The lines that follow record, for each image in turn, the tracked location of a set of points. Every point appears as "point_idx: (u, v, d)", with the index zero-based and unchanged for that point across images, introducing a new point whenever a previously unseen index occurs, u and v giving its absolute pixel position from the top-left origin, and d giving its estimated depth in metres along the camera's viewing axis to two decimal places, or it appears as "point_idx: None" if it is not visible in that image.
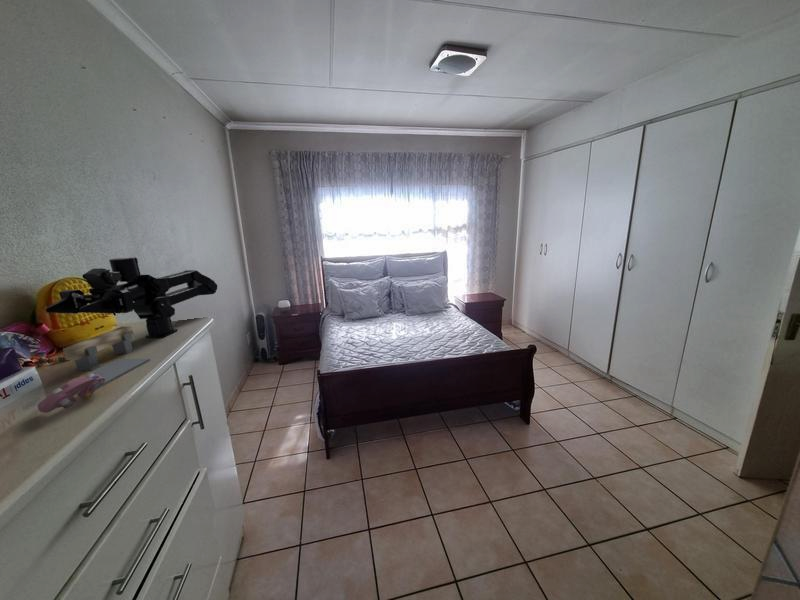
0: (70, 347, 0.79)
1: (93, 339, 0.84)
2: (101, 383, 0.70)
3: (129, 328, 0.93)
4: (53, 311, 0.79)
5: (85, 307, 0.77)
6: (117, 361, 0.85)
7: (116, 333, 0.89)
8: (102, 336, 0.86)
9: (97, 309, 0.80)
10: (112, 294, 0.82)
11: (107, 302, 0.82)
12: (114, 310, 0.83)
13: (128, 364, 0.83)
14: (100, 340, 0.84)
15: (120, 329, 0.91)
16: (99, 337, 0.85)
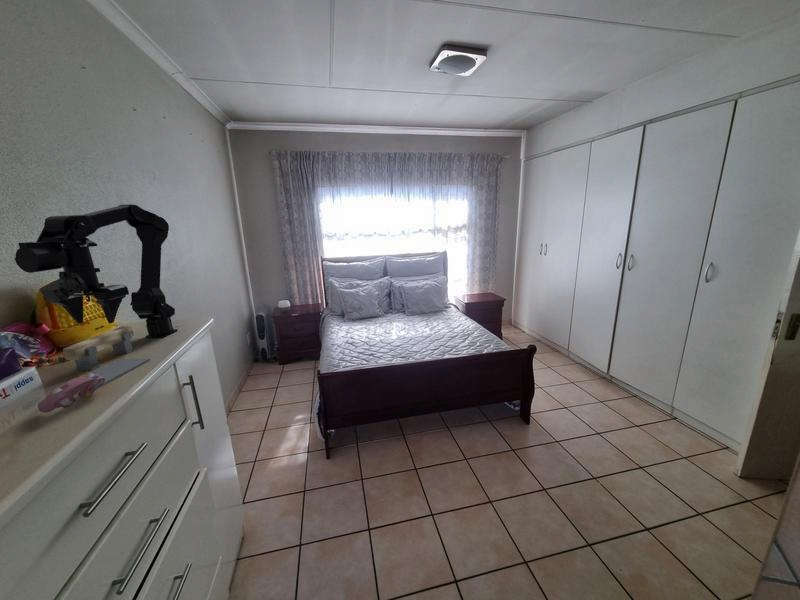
0: (70, 347, 0.79)
1: (93, 339, 0.84)
2: (101, 383, 0.70)
3: (129, 328, 0.93)
4: (82, 318, 0.85)
5: (110, 320, 0.83)
6: (117, 361, 0.85)
7: (116, 333, 0.89)
8: (102, 336, 0.86)
9: (114, 311, 0.84)
10: (105, 302, 0.80)
11: (108, 302, 0.82)
12: (119, 298, 0.84)
13: (128, 364, 0.83)
14: (100, 340, 0.84)
15: (120, 329, 0.91)
16: (99, 337, 0.85)
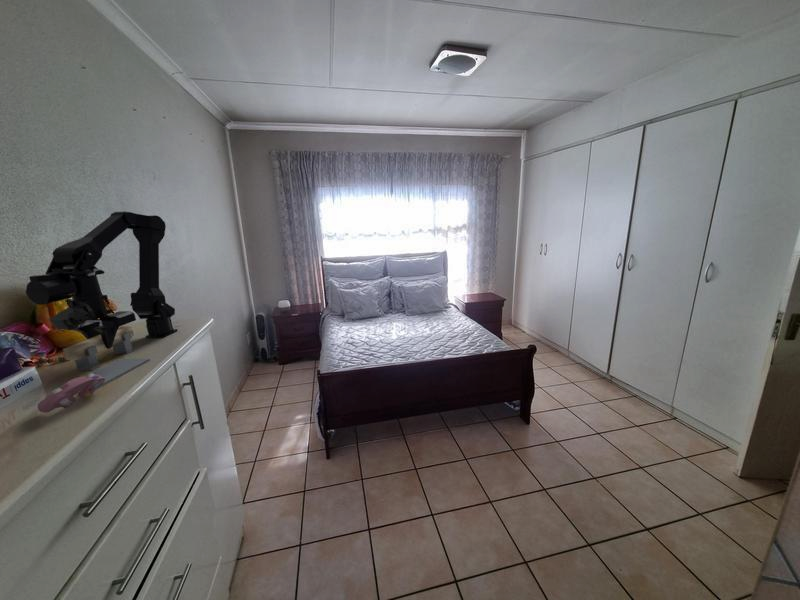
0: (70, 347, 0.79)
1: (93, 339, 0.84)
2: (101, 383, 0.70)
3: (129, 328, 0.93)
4: None
5: (108, 345, 0.86)
6: (117, 361, 0.85)
7: (116, 333, 0.89)
8: None
9: (112, 337, 0.86)
10: (103, 329, 0.82)
11: (106, 328, 0.85)
12: None
13: (128, 364, 0.83)
14: (100, 340, 0.84)
15: (120, 329, 0.91)
16: (99, 337, 0.85)
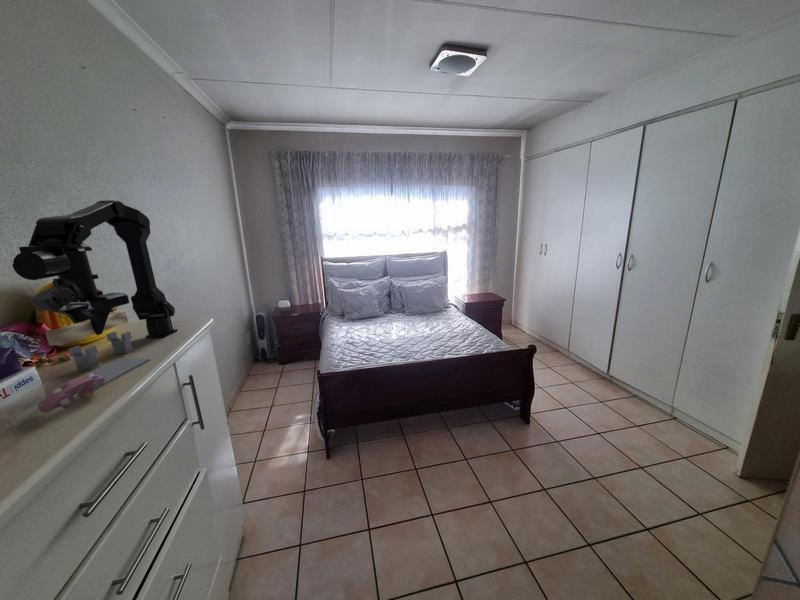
0: (53, 331, 0.70)
1: (81, 323, 0.75)
2: (101, 383, 0.70)
3: (123, 313, 0.83)
4: None
5: (97, 331, 0.77)
6: (117, 361, 0.85)
7: (107, 318, 0.80)
8: None
9: (102, 321, 0.77)
10: (91, 312, 0.73)
11: (95, 312, 0.75)
12: None
13: (128, 364, 0.83)
14: (89, 325, 0.75)
15: (112, 314, 0.82)
16: (88, 321, 0.76)
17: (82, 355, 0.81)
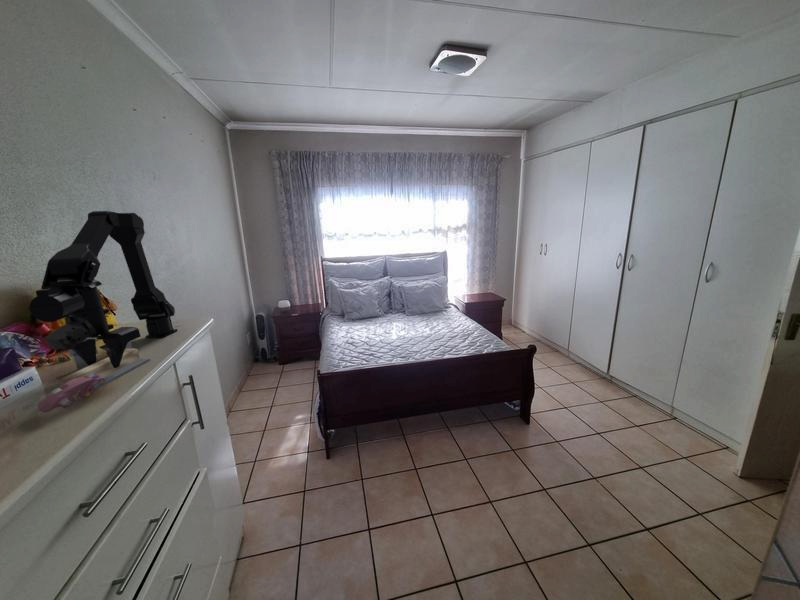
0: (70, 376, 0.71)
1: (95, 365, 0.77)
2: (101, 383, 0.70)
3: (134, 351, 0.85)
4: (95, 361, 0.79)
5: (115, 364, 0.78)
6: None
7: None
8: (105, 361, 0.78)
9: (119, 355, 0.78)
10: (110, 347, 0.74)
11: None
12: None
13: (128, 364, 0.83)
14: (104, 366, 0.77)
15: (125, 352, 0.83)
16: (102, 363, 0.78)
17: None
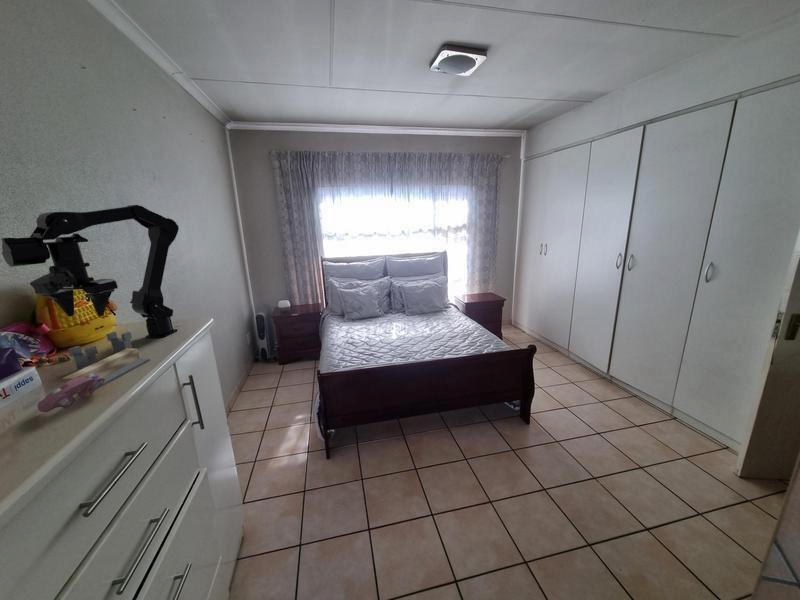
0: (70, 376, 0.71)
1: (95, 365, 0.77)
2: (101, 383, 0.70)
3: (134, 351, 0.85)
4: (72, 311, 0.88)
5: (99, 313, 0.87)
6: None
7: (120, 357, 0.81)
8: (105, 361, 0.78)
9: (103, 304, 0.87)
10: (94, 295, 0.83)
11: (97, 295, 0.85)
12: None
13: (128, 364, 0.83)
14: (104, 366, 0.77)
15: (125, 352, 0.83)
16: (102, 363, 0.78)
17: (82, 355, 0.81)
